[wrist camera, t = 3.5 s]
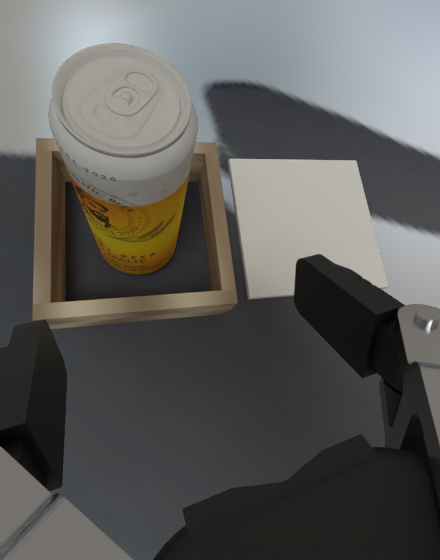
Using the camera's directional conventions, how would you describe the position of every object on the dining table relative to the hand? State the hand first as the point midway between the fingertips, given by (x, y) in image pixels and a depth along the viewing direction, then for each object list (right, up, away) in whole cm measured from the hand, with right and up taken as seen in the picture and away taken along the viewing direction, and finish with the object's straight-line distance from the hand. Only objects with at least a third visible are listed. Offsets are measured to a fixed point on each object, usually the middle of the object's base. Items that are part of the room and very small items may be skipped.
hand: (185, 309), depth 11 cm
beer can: (-6, +4, +17) cm, 18 cm away
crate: (-6, +4, +17) cm, 18 cm away
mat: (+9, +6, +20) cm, 23 cm away
